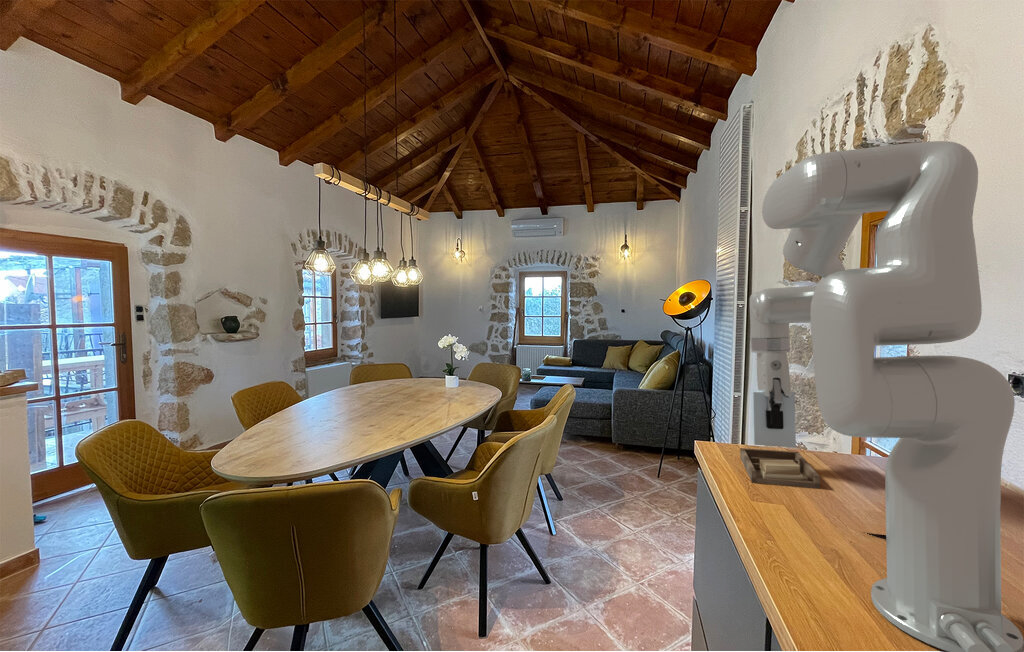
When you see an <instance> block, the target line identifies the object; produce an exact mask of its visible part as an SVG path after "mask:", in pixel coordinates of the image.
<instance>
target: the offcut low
mask: <svg viewBox="0 0 1024 652" xmlns="http://www.w3.org/2000/svg"><path fill="white" fill-rule="evenodd" d="M761 476H762V477H764V478H776V479H788V480H800V481H803V475H802V474H801V473H800V475H788V474H766V473H765V472H764V471H763V470H762V469H761Z"/></svg>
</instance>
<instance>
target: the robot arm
mask: <svg viewBox="0 0 1024 652" xmlns="http://www.w3.org/2000/svg"><path fill="white" fill-rule="evenodd" d="M977 164H978V163H977V160H976V158H975V156H974V154H973V153H972V152H971V151H970V150H969V148H967V147H966V146H964V144H960V143H958V142H954V141H947V140H935V141H921V142H918V141H917V142H908V143H900V144H890V145H889V144H888V145H881V146H879V145H878V146H872V147H866V148H855V149H848V150H846V149H845V150H836V151H831V152H830V151H829V152H824V153H823V152H822V153H816V154H814V155H811V156H807V157H805V158H804V159H803V160H800V161H799V162H798V163H796V164H794V165H793V166H792V167H790V168H789V169H788V170H786V171H784V172H783V173H782V174H781V175H779V176H778V177H777V178H776V179H775V180H774V181H773V182H772V183H771V185H770V186H769V187H768V189H767V191H766V192H765V193H766V194H765V195H764V198H763V201H762V206H761V207H762V209H761V214H762V219H763V222H764V224H765V225H766V226H767V227H768V228H770V229H773V230H787V229H790V231H789V232H788V235H787V238H786V240H785V242H784V245H783V247H782V255H783V257H784V259H785V261H787V263H789V264H790V265H791V266H793V267H794V268H796V269H799V270H801V271H803V272H807V273H809V274H812V275H815V276H818V277H821V278H820V280H819V281H818V283H817V284H815V285H811V286H810V285H806V286H787V287H786V286H785V287H773V288H764V289H762V290H760V291H757V292H754V293H752V294H751V295H750V296H749V320H750V321H749V322H750V323H749V324H750V325H749V327H750V345H751V347H750V348H751V349H750V350H751V353H755V354H756V378H757V379H756V382H757V391H761V392H763V395H764V396H766V397H767V410H766V426H767V428H768V429H783V428H784V426H783V406H782V394H784V395H785V397H786V398H790V397H791V391H792V386H791V376H790V375H791V373H790V365H789V359H788V355H787V354H788V353H791V339H790V337H791V336H790V335H791V334H790V333H791V332H790V331H791V330H790V324H802V323H803V324H805V323H809V324H810V332H811V333H810V335H811V347H812V357H813V358H812V359H813V370H814V372H813V374H814V383H815V392H816V400H817V401H816V402H817V405H818V409H819V412H820V414H821V417H822V419H823V421H824V422H825V424H826V425H827V426H828V427H829V428H830V429H832V430H833V431H835V432H836V433H838V434H841V435H844V436H848V437H854V438H873V439H874V438H875V439H876V438H878V439H879V438H880V439H884V438H885V439H886V438H887V439H889V438H891V439H897V438H898V440H897V441H896V443H895V444H894V446H893V447H892V449H891V451H890V452H889V455H888V457H887V460H886V464H885V468H884V469H885V470H884V473H885V474H884V478H885V479H884V480H885V481H884V483H885V484H884V486H885V487H884V488H885V491H884V493H885V494H884V495H885V499H884V500H885V535H886V540H885V543H886V546H885V547H886V549H885V550H886V577H885V578H882V579H879V580H877V581H875V582H874V583H873V584H872V585H871V590H870V592H871V593H870V595H871V601H872V603H873V605H874V607H875V608H876V610H877V611H878V612H879V613H880V614H881V615H882V616H883V617H884V618H885V619H886V620H887V621H888V622H890V623H891V624H892V625H894V626H895V627H897V628H898V629H899V630H901V631H903V632H904V633H907V634H908V635H909V636H911V637H913V638H915V639H917V640H919V641H922V642H923V643H926V644H928V645H930V646H933V647H935V648H937V649H939V650H942V651H945V652H1024V636H1023V635H1022V632H1021V631H1020V629H1019V628H1018V627H1017V626H1016V625H1015V624H1014V623H1013V622H1012V621H1011V620H1010V619H1009V618H1007V616H1005V615H1004V614H1002V549H1001V548H1002V544H1001V541H1002V540H1001V533H1002V531H1001V529H1002V528H1001V527H1002V526H1001V525H1002V524H1001V523H1002V522H1001V521H1002V520H1001V503H1002V502H1001V501H1002V499H1001V498H1002V497H1001V496H1002V495H1001V493H1002V492H1001V491H1002V489H1001V487H1002V486H1001V485H1002V484H1001V483H1002V482H1001V481H1002V464H1003V455H1004V450H1005V445H1006V442H1007V438H1008V434H1009V431H1010V428H1011V425H1012V422H1013V417H1014V414H1015V407H1016V406H1015V402H1016V401H1015V395H1014V391H1013V388H1012V387H1011V384H1010V382H1009V381H1008V380H1007V378H1006V377H1005V376H1004V374H1003V373H1002V372H1000V371H999V370H998V369H996V368H995V367H993V366H991V365H990V364H988V363H986V362H983V361H980V360H978V359H973V358H969V357H963V356H957V355H942V354H941V355H939V354H938V355H906V356H905V355H904V356H903V355H901V356H886V357H885V356H883V357H880V356H878V357H875V352H876V346H913V345H917V346H918V345H933V344H945V343H953V342H956V341H961V340H964V339H966V338H967V337H969V336H971V335H973V334H974V333H975V332H976V331H977V330H978V328H979V326H980V323H981V320H982V313H983V312H982V311H983V309H982V308H983V307H982V294H981V293H982V292H981V285H980V284H981V283H980V276H979V275H980V274H979V267H978V265H979V264H978V255H977V248H976V240H975V234H974V233H975V232H974V224H973V222H974V220H973V219H974V217H973V216H974V208H975V202H976V197H977V192H978V184H979V168H978V167H979V166H978V165H977ZM877 212H878V213H879V212H880V213H881V212H887V213H886V214H885V215H884V217H883V219H882V220H881V222H880V224H879V226H878V227H877V230H876V233H875V237H874V245H875V246H874V247H875V254H876V267H860V268H850V269H848V268H847V269H846V267H845V266H844V264H843V262H842V261H841V260H840V258H839V256H840V254H841V252H842V251H843V248H844V247H845V246H846V244H847V242H848V240H849V239H850V236H851V235H852V233H853V231H854V230H855V227H856V225H857V224H858V222H859V220H860V219H861V217H862V216H863V214H867V213H868V214H869V213H877ZM769 391H770V392H769ZM782 392H784V393H782ZM771 394H772V395H774V397H773V396H770V395H771ZM771 400H772V401H771Z"/></svg>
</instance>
